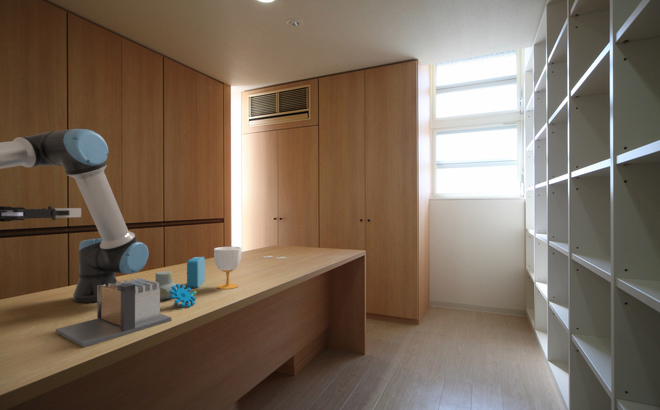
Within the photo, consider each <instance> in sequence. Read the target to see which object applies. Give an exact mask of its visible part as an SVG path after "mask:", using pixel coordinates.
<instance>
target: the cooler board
mask: <svg viewBox="0 0 660 410" xmlns="http://www.w3.org/2000/svg"><path fill="white" fill-rule="evenodd" d="M117 290H118V291H121V326H120V325H117V324H115V323H112V322H109V321H106V320H104V319H101V318H100V319H98V318H97V317H96V318H94V319H91V320H86V321H82V322H78V323H74V324H69V325H66V326H62V327H58V328H55V333H56V334H58V335H60V336H62V337H64V338H66V339H67V340H70V341H71V342H73V343H75V344H77V345H79V346H81V347H82V348H86V347H90V346H93V345H95V344H99V343H103V342H105V341H109V340H113V339H116V338H119V337H122V336H125V335H129V334H131V333H135V332H139V331H141V330H145V329H148V328H152V327H156V326H158V325H161V324H165V323H168V322H171V321H172V317H171V316H168V315H165V314H162V313H160V317H159V318H156V319H153V320H149V321H146V322H142V323H139V324H135V285H134V284H130V283H126V284H120V285H117Z"/></svg>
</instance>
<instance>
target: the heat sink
mask: <svg viewBox="0 0 660 410" xmlns="http://www.w3.org/2000/svg"><path fill="white" fill-rule="evenodd" d="M126 283H130V284H134V285H135V324H139V323H142V322H146V321H149V320H153V319H156V318H159V317H160V314H161V300H160V289H159V283H158V282H155V281H153V280H150V279H145V278H141V277H138V278H136V279H133V278H132V279H129V280H122V282H121V281H117V282H116V284H113V283H108V286H110V287H114V288H117V285H120V284H126Z"/></svg>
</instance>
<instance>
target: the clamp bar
mask: <svg viewBox="0 0 660 410" xmlns="http://www.w3.org/2000/svg"><path fill="white" fill-rule="evenodd" d="M96 306H97V307H96V308H97V309H96V310H97V311H96V312H97V313H96V319H97V318H98V319H100V318H101V319H104V320H106V321H109V322H112V323H115V324H117V325H120V326H121V291H118V290H117V288H114V287H110V286H107V285H106V284H101V285H97V302H96Z"/></svg>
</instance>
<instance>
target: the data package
mask: <svg viewBox="0 0 660 410" xmlns="http://www.w3.org/2000/svg"><path fill="white" fill-rule="evenodd" d="M205 261H206V259H205V257H204V256H195V257H192V258H190V259H188V260H187V263H186V284H187V285H186V287H187V289H188V288H189V287H190V288H191V289H192V288H193V289H195V288H196V289H197V288H199V287H201V286H202V285H203V284H204V283H205V278H206V277H205V276H206V275H205V274H206V265H205V264H206V262H205Z"/></svg>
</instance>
